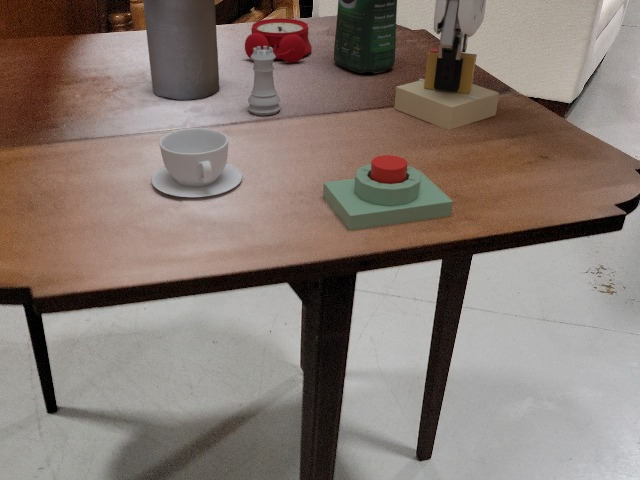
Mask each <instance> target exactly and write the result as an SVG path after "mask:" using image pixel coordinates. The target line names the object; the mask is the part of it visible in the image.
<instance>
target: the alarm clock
mask: <svg viewBox="0 0 640 480" xmlns="http://www.w3.org/2000/svg"><path fill="white" fill-rule="evenodd" d="M250 29H251V34H249V35H248V36H247V37H246V39H245V41H244V51H245V54H246V55H247V57H248V59H250V60H252V58H251V55H252V54H253V48H256V50H257V47H258V46H260V47H261V50H264V46H267V50H269V47H272V49H273V53H274V54H275V56H276V57H275V59H274V60H282V61H284V62H285V63H290V64H293V63H298V62H299V61H301V60H302V59H303V57H305V56H307V55H309V54H311V52H312V50H313V47H312V44H311V42H310V39H309V25H308V23H306V22H304V21H302V20H298V19H293V18H268V19H261V20H258V21H256V22H254V23H252V25H251V28H250Z"/></svg>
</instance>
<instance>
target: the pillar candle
mask: <svg viewBox="0 0 640 480" xmlns="http://www.w3.org/2000/svg"><path fill="white" fill-rule="evenodd" d="M215 1H216V0H142V3H143V13H144V22H145V30H146V41H147V48H148V58H149V68H150V77H151V86H152V87H151V88H152V91H153V93H154V94H155V95H156V96H157V97H162V98H168V99H172V100H177V101H190V100H198V99H199V100H200V99H204V98H206V97H209V96H212V95H213V94H215V93H216V92H218V90H220V72H219V71H220V69H219V51H218V50H219V49H218V35H217V21H216V2H215Z"/></svg>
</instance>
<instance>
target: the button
mask: <svg viewBox="0 0 640 480" xmlns="http://www.w3.org/2000/svg"><path fill="white" fill-rule="evenodd" d="M370 164H371V173H370V178H371V180H373V181H376V182H379V183H384V184H396V183H402V182H404V181H405V180H406V174H407V166H409V165H408V161H407V159H405V158H404V157H401V156H398V155H392V154H384V155H378V156H375V157H374V158H372V159H371V162H370Z"/></svg>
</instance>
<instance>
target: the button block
mask: <svg viewBox="0 0 640 480" xmlns="http://www.w3.org/2000/svg"><path fill="white" fill-rule="evenodd" d="M370 173H371V163H367V164H365V165H362V166H360V167H358V168H357V170H356V173H355V175H354V178H347V179H339V180H331V181H324V182H323V187H322V197H323V199H324V200H325V201H326V203H327V204H328V205H329V206H330V208H331V209H332V210H333V212H334V213H335V215H336V216H337V217H338V218H339V219H340V220H341V222H342V223H343V225H344V226H345V227H346V229H347V231H350V232H351V231H358V230H364V229H365V230H366V229H370V228H371V229H372V228H377V227H378V228H379V227H386V226H392V225H393V226H394V225H399V224H405V223H412V222H413V223H414V222H420V221H425V220H426V221H427V220H434V219H440V218H447V217H452V211H453V204H454V200H453V199H451V198H450V197H449V196H448V195H447V194H446V193H445V192H444V191H442V189H440V188H439V186H437V184H435V183H434V182H433V181H432V180H431V179H430V178H428V177H427V175H426V174H424V172H422V171H421V170H420V169H416V168H415V167H412V166H409V165H407V174H406V180H405V181H404V182H402V183H396V184H384V183H379V182H376V181H373V180H371V178H370Z"/></svg>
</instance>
